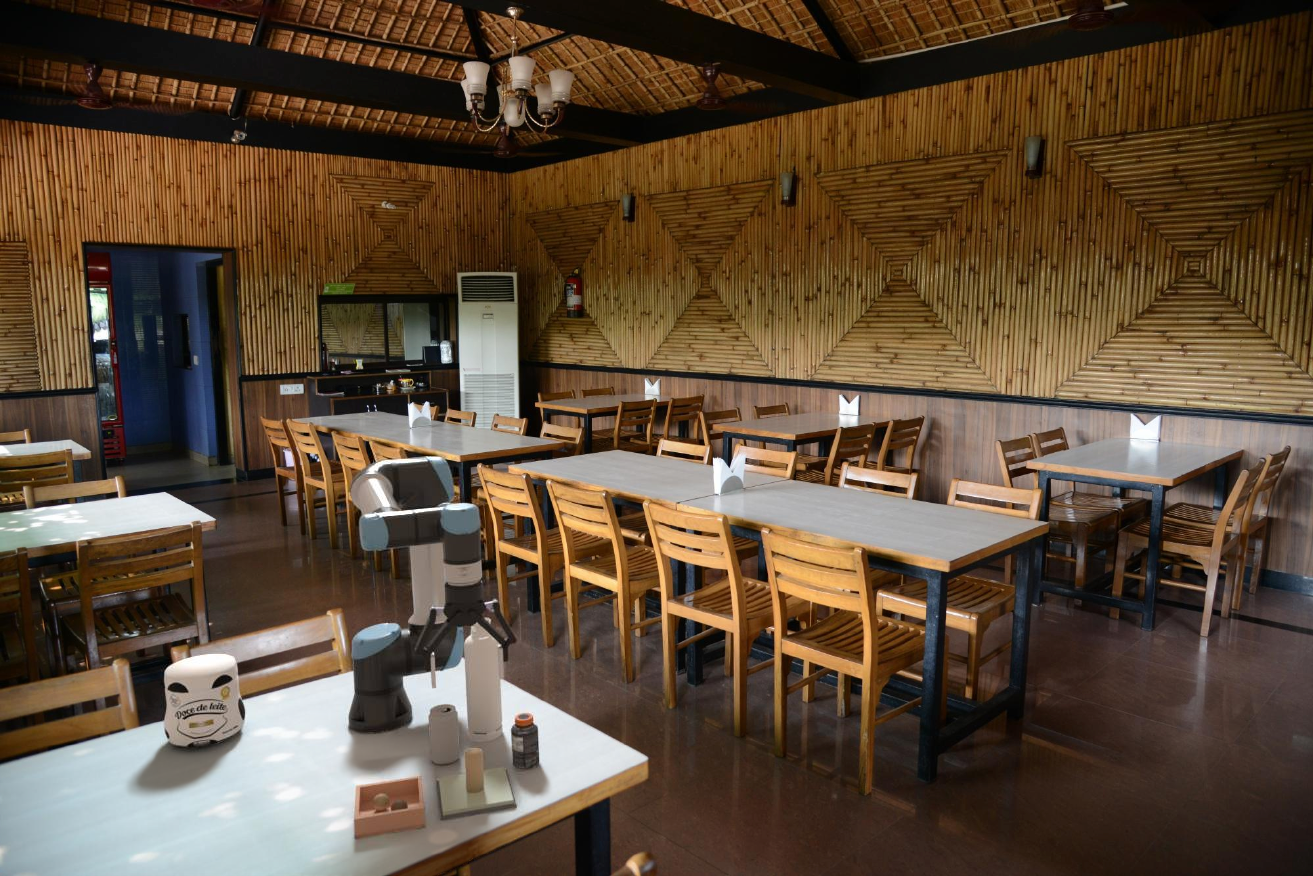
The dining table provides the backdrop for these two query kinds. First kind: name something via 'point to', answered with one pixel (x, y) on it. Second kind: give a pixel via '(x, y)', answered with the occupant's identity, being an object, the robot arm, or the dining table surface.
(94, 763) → the dining table surface
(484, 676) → the bottle
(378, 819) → the dish
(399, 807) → the ball walnut
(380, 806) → the ball beech
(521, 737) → the pill bottle
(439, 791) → the mat
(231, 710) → the doce de leite tub
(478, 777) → the lid
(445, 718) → the beverage can
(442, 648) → the robot arm
